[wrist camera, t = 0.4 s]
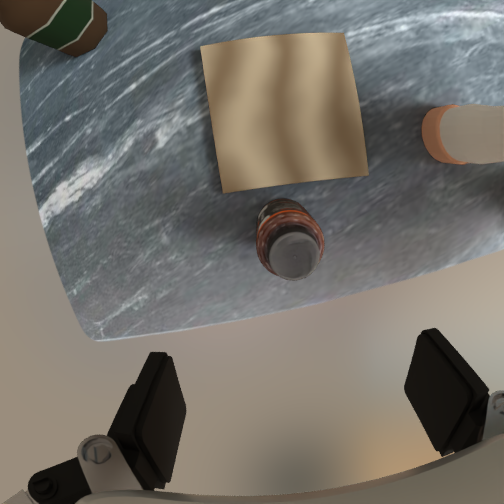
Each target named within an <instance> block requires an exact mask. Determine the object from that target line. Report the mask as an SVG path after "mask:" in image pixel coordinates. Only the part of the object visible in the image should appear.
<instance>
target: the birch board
mask: <svg viewBox="0 0 504 504" xmlns="http://www.w3.org/2000/svg"><path fill="white" fill-rule="evenodd" d="M200 48H201V55H202V62H203V69H204V76H205V83H206V90H207V96H208V103H209V109H210V116H211V122H212V129H213V135H214V141H215V147H216V154H217V160H218V166H219V172H220V178H221V184H222V190H223V193H229V192H236V191H242V190H249V189H256V188H263V187H270V186H277V185H285V184H293V183H301V182H309V181H318V180H327V179H337V178H347V177H358V176H369V174H368V164H367V155H366V147H365V139H364V132H363V125H362V119H361V112H360V106H359V101H358V95H357V90H356V84H355V79H354V75H353V70H352V65H351V61H350V56H349V52H348V48H347V44H346V40H345V36H344V33H301V34H284V35H273V36H263V37H254V38H247V39H240V40H233V41H227V42H221V43H216V44H211V45H206V46H201V47H200Z"/></svg>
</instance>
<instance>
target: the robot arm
mask: <svg viewBox="0 0 504 504" xmlns="http://www.w3.org/2000/svg"><path fill="white" fill-rule="evenodd" d="M404 390H405V393H406V395H407V397H408V399H409V401H410V403H411V404H412V406H413V408H414V410H415V412H416V414H417V416H418V417H419V419H420V421H421V423H422V425H423V427H424V429H425V431H426V433H427V435H428V437H429V439H430V441H431V443H432V445H433V447H434V448H435V450H436V451H439V452H440V454H441V456H442V457H443V456H445V455H448V454H450V453H453V452H455V453H454V454H451V455H449V456H446V457H444V458H441V459H439V460H436V461H434V462H431V463H428V464H425V465H422V466H419V467H416V468H414V469H410V470H407V471H404V472H400V473H397V474H393V475H390V476H386V477H382V478H379V479H375V480H371V481H366V482H362V483H357V484H353V485H348V486H342V487H337V488H331V489H324V490H317V491H310V492H301V493H291V494H280V495H263V496H216V495H215V496H214V495H195V494H183V493H172V492H160V491H154V489H155V488H159V489H164V488H165V484H166V482H168V483H169V482H170V481H171V477H172V473H173V468H174V464H175V459H176V455H177V450H178V446H179V441H180V437H181V433H182V429H183V424H184V420H185V415H186V404H185V401H184V398H183V395H182V391H181V388H180V384H179V381H178V377H177V374H176V370H175V366H174V363H173V359H172V357H171V356H168V355H167V353H165V352H150V354H149V356H148V358H147V360H146V362H145V364H144V366H143V368H142V370H141V373H140V374H139V377H138V379H137V381H136V383H135V384H132V385H131V386H130V387H129V389H128V391H127V393H126V395H125V397H124V399H123V401H122V403H121V405H120V407H119V410H118V412H117V414H116V416H115V418H114V420H113V423H112V425H111V427H110V429H109V431H108V434H107V436H105V435H93V436H90V437H88V438H86V439H84V441H82V442H81V443H80V445H79V447H78V450H77V455H78V457H75V458H73V459H71V460H68V461H66V462H63V463H61V464H58V465H56V466H53V467H50V468H48V469H45V470H42V471H40V472H37V473H35V474H34V475H33V476H32V477H31V478H30V480H29V482H28V490H27V491H26V492H25V491H24V490H21V491H19V492H18V493H17V494H15V495H14V496H12V497H11V498H10V499H8V500H7V501H5V502H4V503H2V504H504V391H496V392H494V393H492V394H491V396H490V395H489V394H488V391H489V389H488V387H487V386H486V385H485V383H484V382H483V381H482V380H481V379H480V377H479V376H478V375H477V374H476V373H475V371H474V370H473V369H472V368H471V367H470V366H469V364H468V363H467V362H466V361H465V360H464V358H463V357H462V356H461V355H460V354H459V353H458V351H456V349H455V348H454V347H453V346H452V345H451V344H450V342H449V341H448V340H447V339H446V338H445V337H444V336H443V335H442V334H441V332H440V331H439V330H437V329H436V328H432V329H427V330H423V331H422V332H421V334H420V335H419V336H418V337H417V341H416V345H415V349H414V354H413V357H412V361H411V364H410V368H409V371H408V375H407V379H406V382H405V385H404Z"/></svg>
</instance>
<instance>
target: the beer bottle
mask: <svg viewBox="0 0 504 504" xmlns="http://www.w3.org/2000/svg"><path fill="white" fill-rule="evenodd" d="M0 22H1V24H2V25H3V26H4V27H5V28H6V29H8V30H10V31H12V32H14V33H17V34H19V35H22V36H24V37H26V38H29V39H31V40H34V41H37V42H39V43H42V44H44V45H47V46H49V47H52V48H54V49H56V50H59V51H61V52H63V53H66V54H68V55H71V56H74V57H78V56H80V55H82V54H84V53H86V52H88V51H90V50H92V49H95V48H96V46H97V45H98V43H99V42H100V41H101V39H102V38H103V36H104V35H105V34H106V32H107V13H106V12H105V11H104V10H103V9H102V8H101V7H99V6H98V5H97V4H96V3H94V2H93V1H92V0H0Z"/></svg>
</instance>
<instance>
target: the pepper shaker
mask: <svg viewBox="0 0 504 504" xmlns="http://www.w3.org/2000/svg"><path fill="white" fill-rule="evenodd" d="M421 128H422V138H423V142H424V145H425V147H426V149H427V150H428V152H429V154H430V155H431V156H432V157H433V158H434V159H436V160H438V161H440V162H442V163H451V164H460V165H464V164H466V163H475V164H488V163H495V162H504V106H487V105H478V104H469V105H464V106H458V105H453V104H452V105H447V106H442V107H437V108H433V109H431V110H430V111H429V112H427V114H426V115H425V117H424V119H423V123H422V127H421Z"/></svg>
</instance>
